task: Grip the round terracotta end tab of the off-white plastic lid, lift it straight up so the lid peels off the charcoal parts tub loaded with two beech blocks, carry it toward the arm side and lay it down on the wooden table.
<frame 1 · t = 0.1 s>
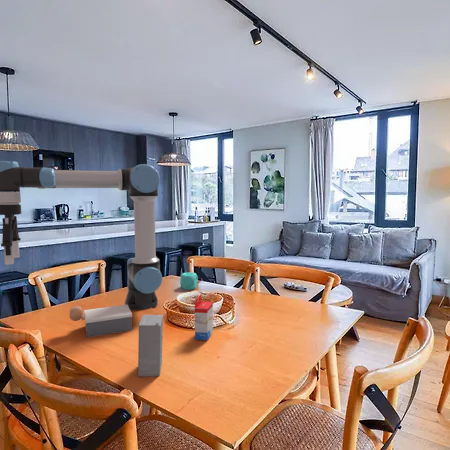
hand: (12, 261, 129), 28 cm above the table, fingers open, 13 cm apart
decorative dice: (189, 288, 193), on the table
skincare box: (151, 370, 103), on the table
tub: (108, 329, 134), on the table
block a: (115, 325, 137), point 1 cm above the table, touching tub
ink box: (204, 336, 128), on the table
lid: (107, 314, 134), point 6 cm above the table, touching tub
block b: (100, 330, 132), point 1 cm above the table, touching tub
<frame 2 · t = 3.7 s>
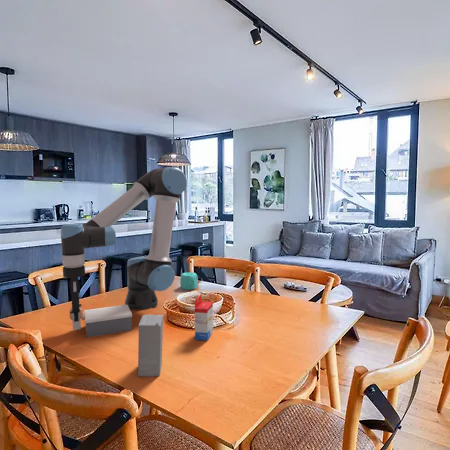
hand: (76, 326, 130), 3 cm above the table, fingers closed on lid, 4 cm apart
lid: (107, 314, 134), point 6 cm above the table, touching gripper, tub
everything else where it was.
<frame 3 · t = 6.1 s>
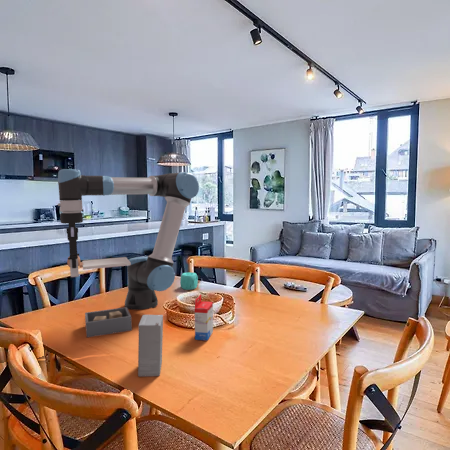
hand: (74, 274, 128), 23 cm above the table, fingers closed on lid, 4 cm apart
lid: (106, 264, 132), point 26 cm above the table, touching gripper
everything else where it was.
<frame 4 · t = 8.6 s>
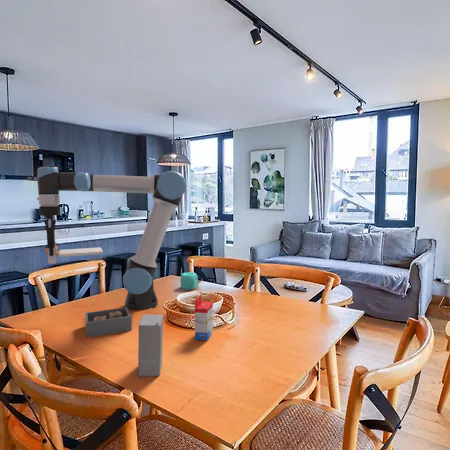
hand: (52, 262, 142), 25 cm above the table, fingers closed on lid, 4 cm apart
lid: (81, 253, 146), point 28 cm above the table, touching gripper
everything else where it was.
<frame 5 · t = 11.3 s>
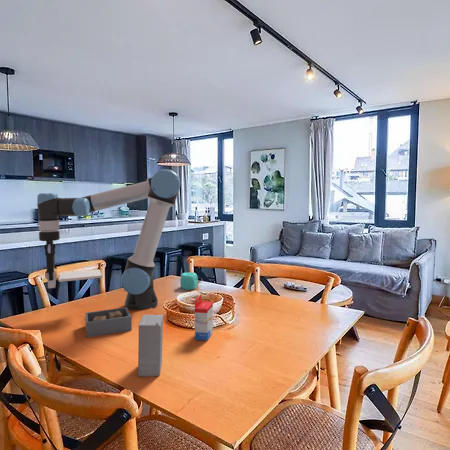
hand: (52, 286, 144), 14 cm above the table, fingers closed on lid, 4 cm apart
lid: (80, 276, 149), point 17 cm above the table, touching gripper
everything else where it was.
when the fingers open (14 cm above the table, at t = 13.4 s): lid drops 17 cm, on the table.
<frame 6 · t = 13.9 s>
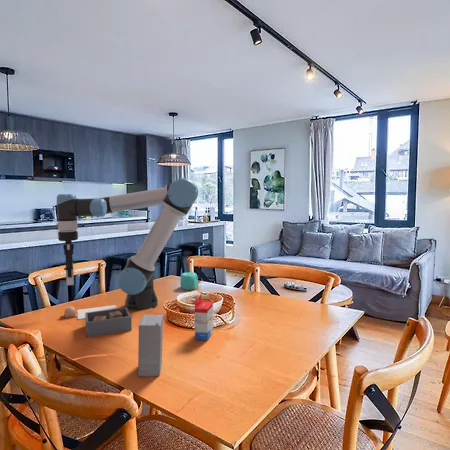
hand: (70, 281, 147), 16 cm above the table, fingers open, 12 cm apart
lid: (98, 313, 153), on the table
everything else where it was.
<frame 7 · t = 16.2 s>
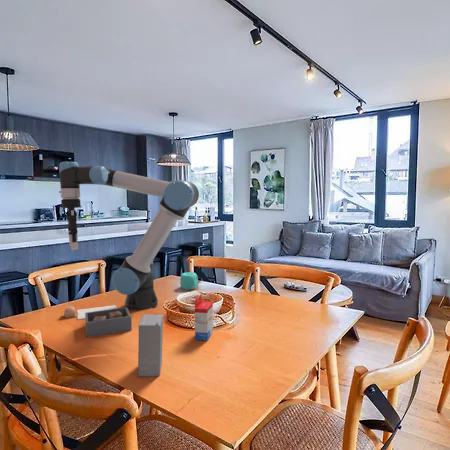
hand: (73, 247, 150), 29 cm above the table, fingers open, 13 cm apart
nothing on the table moved.
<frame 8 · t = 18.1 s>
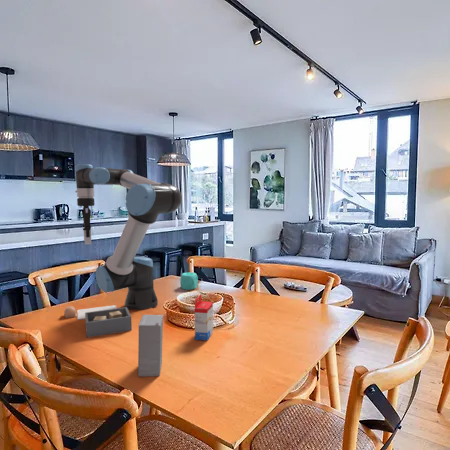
hand: (87, 242, 164), 30 cm above the table, fingers open, 13 cm apart
nothing on the table moved.
at the end: lid touching table; lid on the table; lid moved 22.0 cm from its start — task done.
